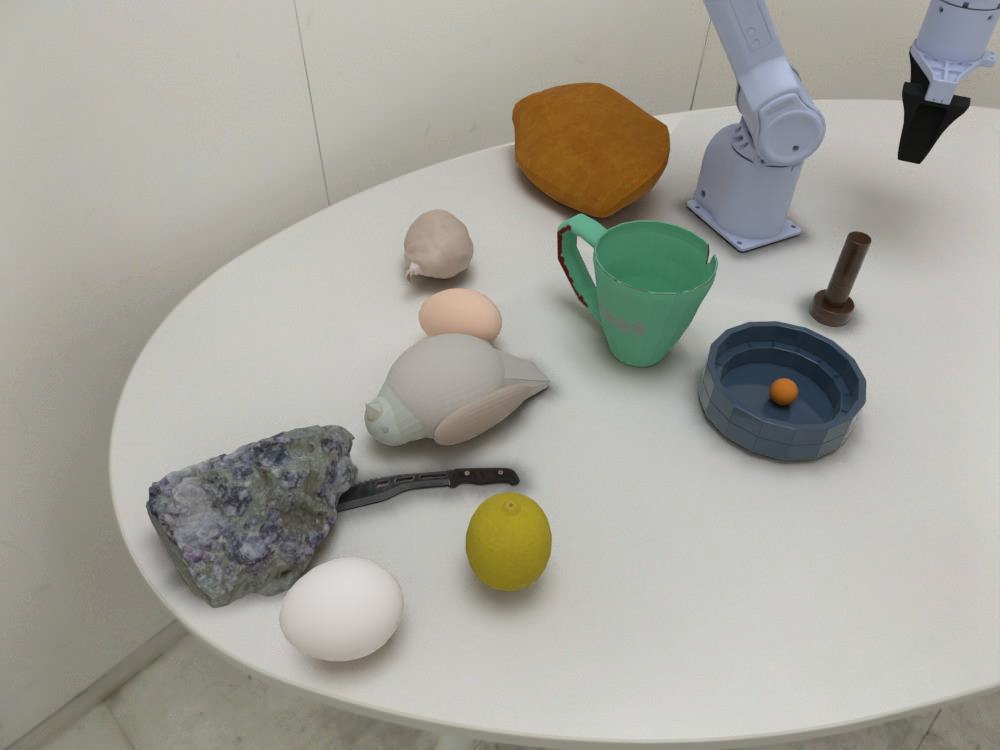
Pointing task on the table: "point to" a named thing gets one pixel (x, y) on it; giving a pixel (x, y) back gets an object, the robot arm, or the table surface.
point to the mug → (638, 282)
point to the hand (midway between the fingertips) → (911, 141)
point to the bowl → (766, 358)
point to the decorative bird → (450, 391)
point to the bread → (589, 147)
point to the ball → (783, 391)
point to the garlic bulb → (437, 246)
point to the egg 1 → (342, 609)
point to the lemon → (508, 541)
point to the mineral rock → (253, 512)
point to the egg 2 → (460, 314)
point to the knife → (420, 484)
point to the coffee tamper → (841, 283)
